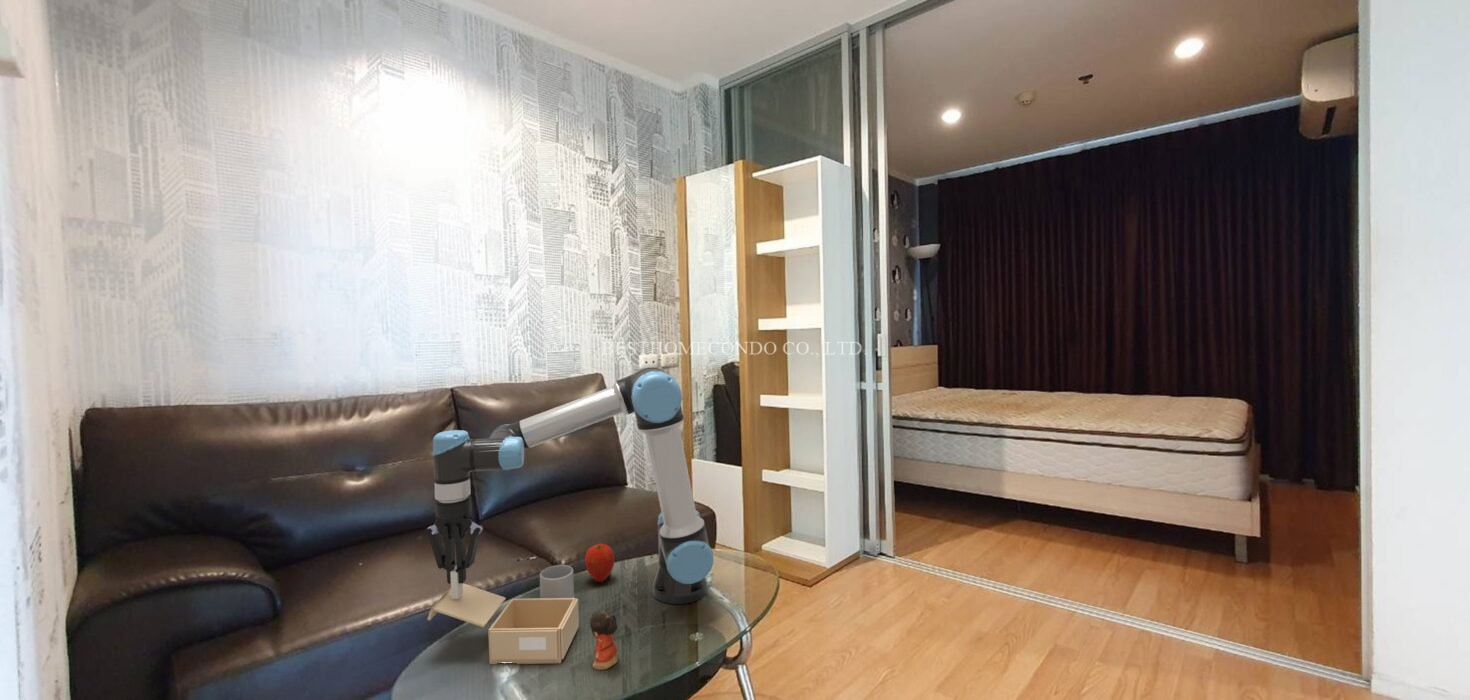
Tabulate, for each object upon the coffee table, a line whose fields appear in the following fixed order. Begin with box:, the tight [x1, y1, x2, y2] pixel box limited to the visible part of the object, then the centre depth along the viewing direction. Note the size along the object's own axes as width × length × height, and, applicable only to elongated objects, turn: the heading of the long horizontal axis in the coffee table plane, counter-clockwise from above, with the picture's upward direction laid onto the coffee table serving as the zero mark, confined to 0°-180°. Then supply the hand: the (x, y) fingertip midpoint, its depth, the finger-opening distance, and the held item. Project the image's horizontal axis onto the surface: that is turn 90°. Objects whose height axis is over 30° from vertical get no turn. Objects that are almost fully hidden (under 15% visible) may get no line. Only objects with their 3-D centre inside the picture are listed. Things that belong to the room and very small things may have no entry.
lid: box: [426, 582, 507, 628], centre depth 137 cm, size 12×13×3 cm
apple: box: [584, 543, 615, 583], centre depth 171 cm, size 9×8×11 cm
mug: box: [539, 564, 575, 598], centre depth 155 cm, size 12×8×11 cm
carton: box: [488, 597, 580, 665], centre depth 138 cm, size 16×15×8 cm
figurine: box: [589, 610, 619, 671], centre depth 131 cm, size 6×6×12 cm
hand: (457, 596), depth 137 cm, fingers closed
